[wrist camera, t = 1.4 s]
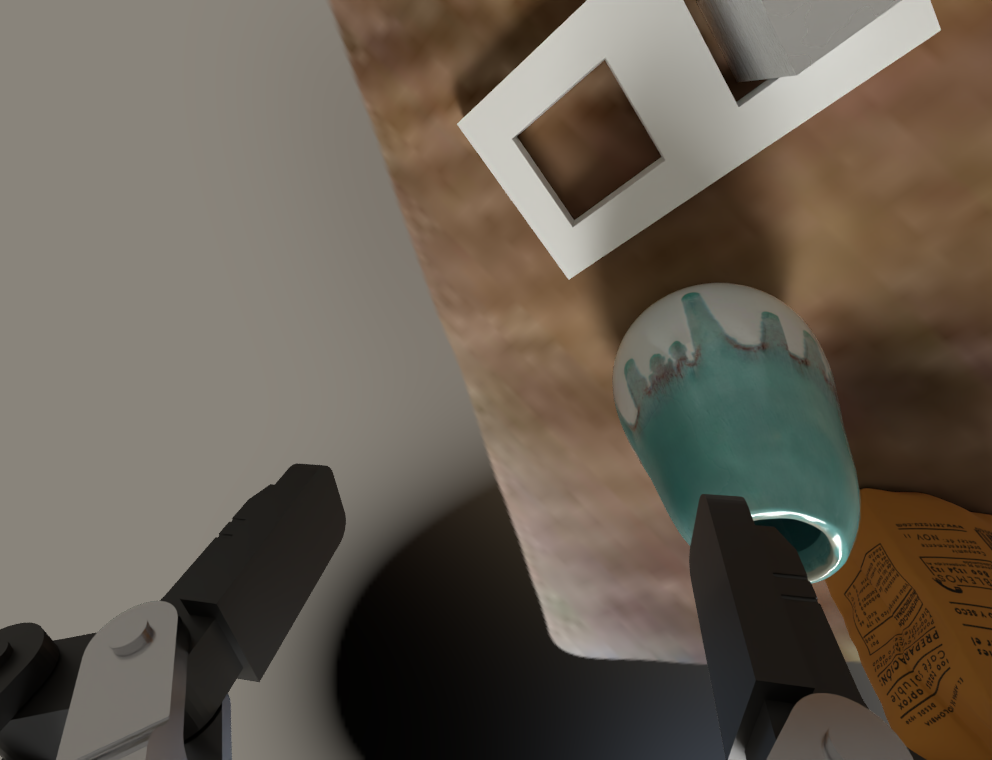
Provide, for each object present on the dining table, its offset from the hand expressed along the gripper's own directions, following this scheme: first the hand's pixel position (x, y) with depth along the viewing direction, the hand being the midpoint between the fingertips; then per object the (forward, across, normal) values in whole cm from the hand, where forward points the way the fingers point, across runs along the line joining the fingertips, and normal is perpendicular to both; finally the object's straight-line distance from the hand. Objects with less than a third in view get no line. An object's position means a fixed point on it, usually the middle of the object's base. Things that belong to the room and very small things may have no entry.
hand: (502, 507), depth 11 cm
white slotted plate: (+24, -5, -8) cm, 26 cm away
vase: (+24, -9, +8) cm, 27 cm away
